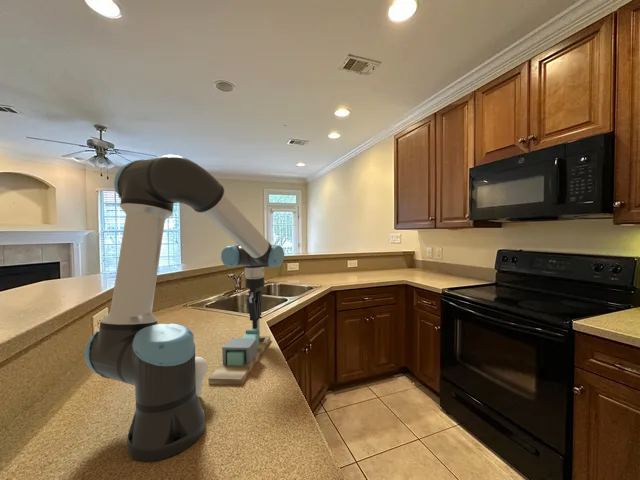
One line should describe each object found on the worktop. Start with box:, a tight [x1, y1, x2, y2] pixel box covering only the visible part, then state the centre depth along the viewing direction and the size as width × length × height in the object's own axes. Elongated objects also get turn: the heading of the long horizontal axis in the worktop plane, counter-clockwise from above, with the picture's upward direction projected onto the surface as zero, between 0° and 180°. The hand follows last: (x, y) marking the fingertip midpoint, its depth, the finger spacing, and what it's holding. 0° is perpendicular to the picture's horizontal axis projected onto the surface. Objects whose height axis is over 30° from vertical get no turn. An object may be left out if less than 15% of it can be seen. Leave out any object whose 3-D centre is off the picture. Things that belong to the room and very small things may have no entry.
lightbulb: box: [195, 356, 209, 398], centre depth 77 cm, size 6×6×11 cm
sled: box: [227, 328, 260, 366], centre depth 101 cm, size 19×5×5 cm, turn 176°
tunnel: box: [221, 337, 257, 365], centre depth 96 cm, size 8×9×6 cm
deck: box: [208, 335, 272, 386], centre depth 100 cm, size 34×10×2 cm, turn 176°
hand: (256, 335), depth 114 cm, fingers closed
